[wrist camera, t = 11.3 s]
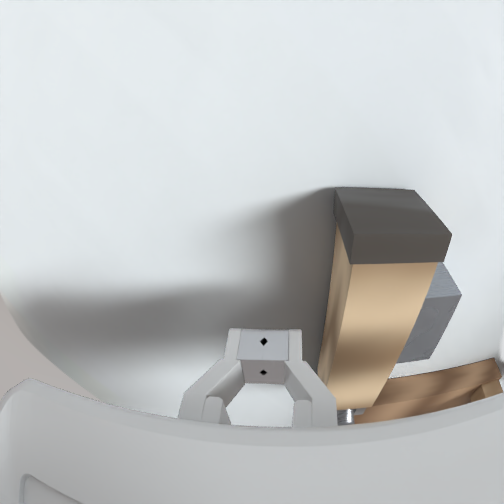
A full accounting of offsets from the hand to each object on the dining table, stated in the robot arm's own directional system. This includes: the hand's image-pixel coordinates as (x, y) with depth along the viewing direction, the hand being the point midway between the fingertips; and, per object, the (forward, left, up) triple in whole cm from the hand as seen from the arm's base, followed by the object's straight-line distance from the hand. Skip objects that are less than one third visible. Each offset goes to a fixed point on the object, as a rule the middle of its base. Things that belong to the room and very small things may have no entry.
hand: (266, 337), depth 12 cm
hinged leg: (-5, +3, -4) cm, 7 cm away
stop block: (-8, +1, -4) cm, 9 cm away
